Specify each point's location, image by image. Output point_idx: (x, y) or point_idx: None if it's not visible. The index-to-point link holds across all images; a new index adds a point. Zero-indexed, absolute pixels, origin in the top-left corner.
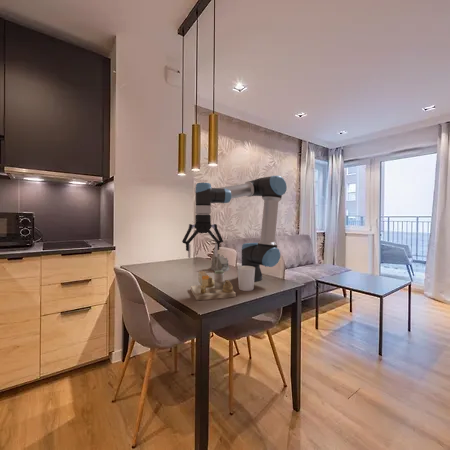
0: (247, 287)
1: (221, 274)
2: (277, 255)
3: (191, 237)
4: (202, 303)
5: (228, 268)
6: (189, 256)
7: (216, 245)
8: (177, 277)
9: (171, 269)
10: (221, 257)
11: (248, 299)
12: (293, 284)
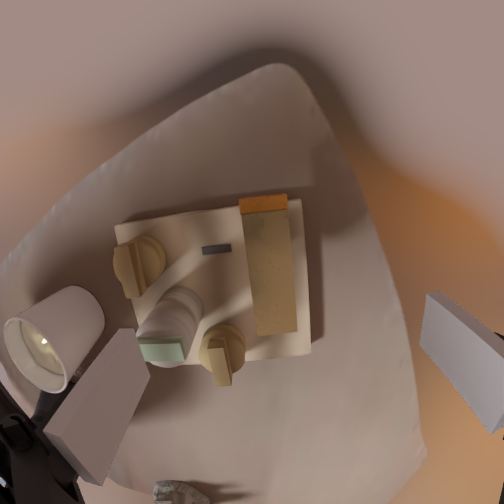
0: (68, 289)
1: (148, 321)
2: None
3: None
4: (275, 157)
5: (154, 491)
6: (443, 298)
7: (66, 418)
8: (330, 457)
9: (330, 501)
10: None
11: (83, 185)
12: None
